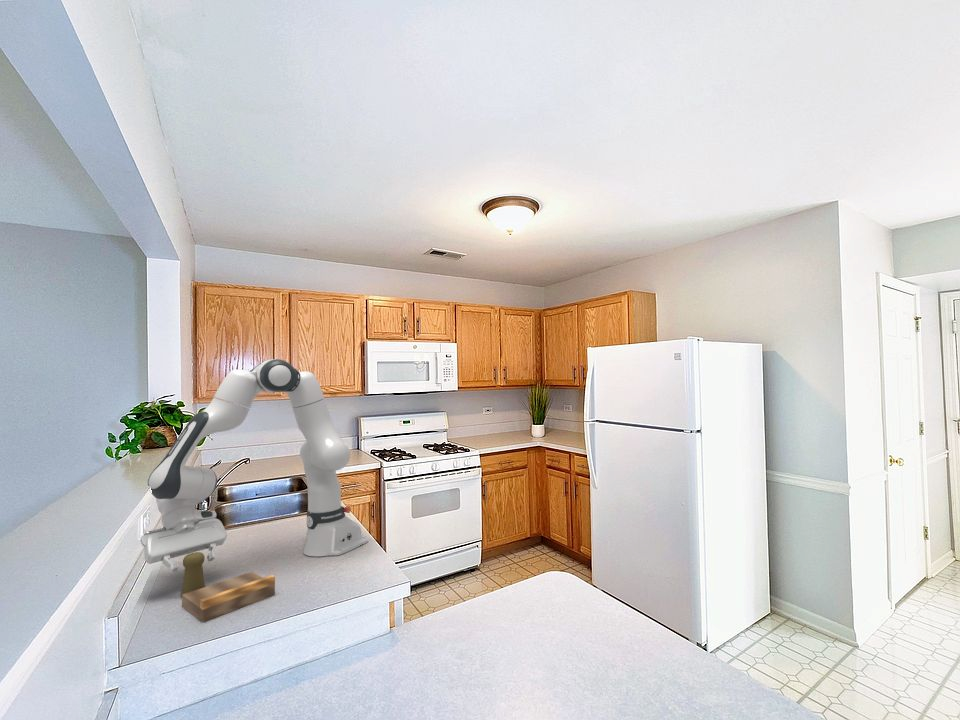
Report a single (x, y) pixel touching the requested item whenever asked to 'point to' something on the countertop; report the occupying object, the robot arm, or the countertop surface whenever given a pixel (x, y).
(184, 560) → the cork
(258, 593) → the dock
